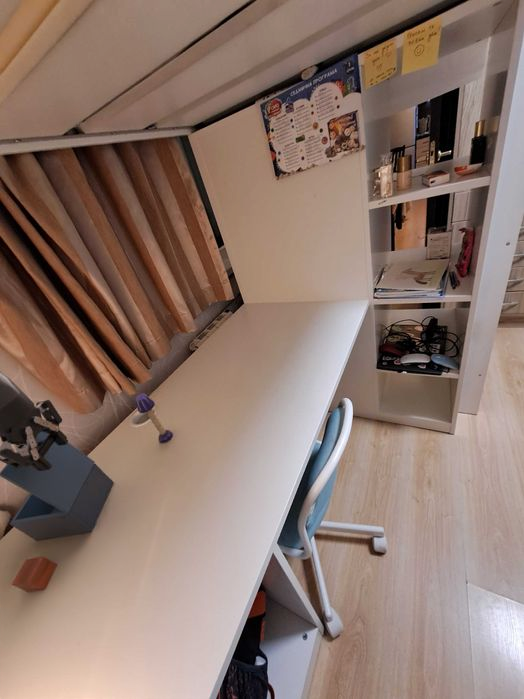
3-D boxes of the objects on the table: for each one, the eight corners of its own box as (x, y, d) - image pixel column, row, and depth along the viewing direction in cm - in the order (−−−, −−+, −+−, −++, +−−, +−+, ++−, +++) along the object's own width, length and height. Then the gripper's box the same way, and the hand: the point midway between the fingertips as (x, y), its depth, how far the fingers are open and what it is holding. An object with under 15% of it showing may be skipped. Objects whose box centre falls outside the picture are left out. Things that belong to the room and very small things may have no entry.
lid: (-3, 475, 55) (15, 467, 54) (39, 424, 66) (55, 416, 64) (65, 513, 63) (82, 507, 62) (93, 462, 74) (108, 457, 73)
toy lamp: (163, 430, 90) (136, 392, 81) (176, 429, 89) (150, 390, 80) (157, 443, 86) (128, 404, 77) (170, 442, 85) (142, 403, 76)
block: (26, 592, 61) (11, 584, 59) (40, 567, 65) (25, 558, 62) (44, 589, 60) (29, 582, 58) (57, 564, 64) (43, 556, 62)
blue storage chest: (35, 540, 71) (9, 524, 66) (64, 491, 81) (43, 473, 76) (91, 532, 68) (68, 514, 64) (113, 482, 79) (95, 463, 74)
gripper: (7, 379, 59) (60, 432, 69) (-56, 436, 47) (18, 490, 57) (38, 372, 58) (87, 426, 68) (-18, 427, 46) (51, 484, 56)
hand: (55, 455), depth 62 cm, fingers closed on lid, 5 cm apart
